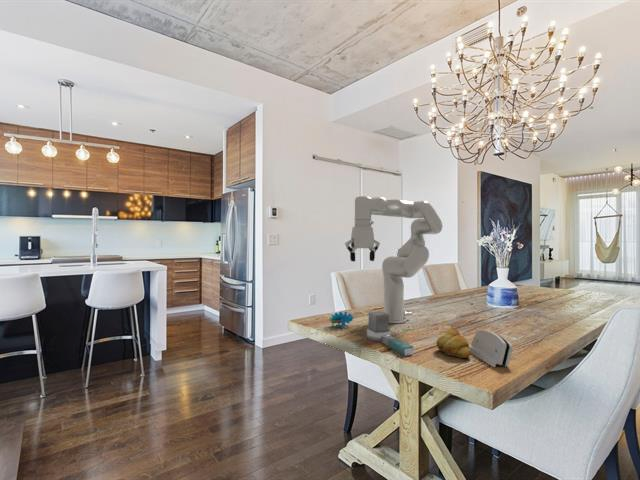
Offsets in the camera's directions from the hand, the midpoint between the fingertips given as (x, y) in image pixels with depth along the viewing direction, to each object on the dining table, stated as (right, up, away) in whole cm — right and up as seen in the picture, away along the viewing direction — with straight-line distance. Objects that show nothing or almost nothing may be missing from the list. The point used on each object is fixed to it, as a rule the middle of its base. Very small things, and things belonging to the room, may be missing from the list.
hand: (362, 261), depth 154 cm
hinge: (+39, -32, -37) cm, 63 cm away
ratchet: (+7, -31, -23) cm, 39 cm away
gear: (-10, -31, +1) cm, 32 cm away
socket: (+5, -28, -15) cm, 32 cm away
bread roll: (+28, -32, -34) cm, 54 cm away
